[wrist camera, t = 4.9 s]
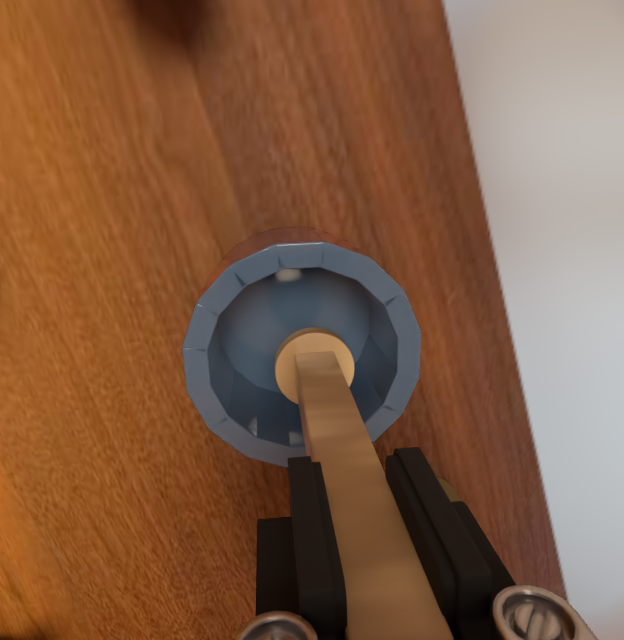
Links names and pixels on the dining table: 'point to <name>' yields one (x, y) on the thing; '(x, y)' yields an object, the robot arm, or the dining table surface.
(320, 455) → the stick
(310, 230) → the holder
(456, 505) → the robot arm
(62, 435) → the dining table surface
